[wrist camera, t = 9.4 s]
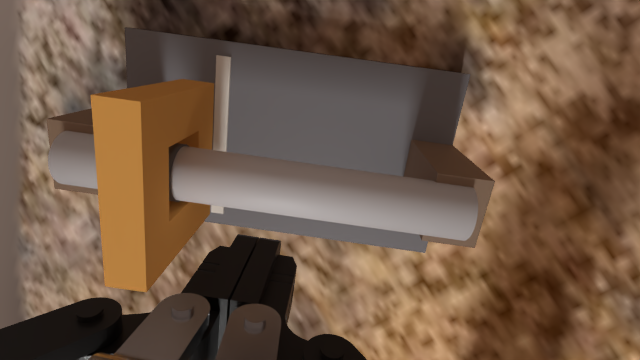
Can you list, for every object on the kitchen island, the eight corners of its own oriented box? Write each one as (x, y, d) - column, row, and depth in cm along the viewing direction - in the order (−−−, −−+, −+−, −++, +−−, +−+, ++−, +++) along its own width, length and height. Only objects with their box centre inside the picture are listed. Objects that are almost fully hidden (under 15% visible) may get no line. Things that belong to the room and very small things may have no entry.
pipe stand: (461, 72, 27) (540, 87, 16) (420, 240, 32) (460, 339, 21) (139, 29, 28) (7, 14, 17) (144, 201, 32) (43, 279, 21)
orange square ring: (214, 83, 23) (140, 101, 15) (209, 214, 26) (146, 292, 18) (182, 78, 23) (90, 94, 15) (182, 210, 26) (104, 286, 18)
